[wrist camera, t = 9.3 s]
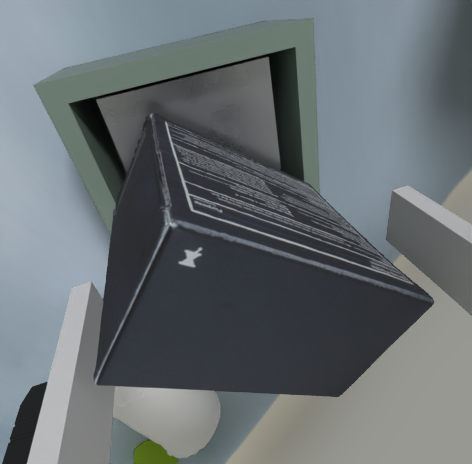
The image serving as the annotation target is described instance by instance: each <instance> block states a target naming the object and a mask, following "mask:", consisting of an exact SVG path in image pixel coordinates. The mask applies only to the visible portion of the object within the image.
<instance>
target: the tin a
mask: <svg viewBox="0 0 472 464" xmlns="http://www.w3.org/2000/svg"><path fill="white" fill-rule="evenodd" d="M96 101H97V103H98V106H99V108H100V110H101V113H102V115H103V117H104V120H105V122H106V125H107V127H108V129H109V132H110V134H111V136H112V139H113V141H114V144H115V146H116V148H117V151H118V153H119V155H120V158H121V160H122V163H123V165H124V167H125V170H126V172H127V171H128V170H129V167H130V164H131V163H132V158H133V157H134V154H135V149H136V148H137V146H138V140H139V139H140V138H141V136H142V129H143V124H144V122H145V121H146V116H148V115H149V114H152V113H157V114H158V115H160V116H162V117H164V118H167V119H169V120H171V121H173V122H176V123H178V124H180V125H183V126H185V127H187V128H189V129H192V130H194V131H196V132H198V133H201V134H203V135H205V136H207V137H209V138H211V139H214V140H215V141H219V142H220V143H223V144H225V145H228V146H229V147H231V148H233V149H235V150H238V151H240V152H241V153H244V154H246V155H248V156H250V157H252V158H255V159H257V160H259V161H261V162H263V163H266V164H269V165H270V166H272V167H274V168H276V169H278V170H280V169H281V164H280V155H279V146H278V137H277V128H276V119H275V110H274V101H273V92H272V83H271V74H270V65H269V57H267V56H263V55H261V56H257V57H253V58H249V59H245V60H241V61H237V62H233V63H229V64H225V65H221V66H217V67H213V68H209V69H205V70H201V71H197V72H192V73H188V74H184V75H180V76H176V77H172V78H168V79H164V80H160V81H156V82H152V83H148V84H144V85H140V86H136V87H132V88H128V89H124V90H120V91H116V92H112V93H108V94H104V95H100V96H98V98H97V99H96Z"/></svg>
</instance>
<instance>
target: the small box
mask: <svg viewBox="0 0 472 464" xmlns="http://www.w3.org/2000/svg"><path fill="white" fill-rule="evenodd" d="M433 304H434V300H433V298H432V297H431V296H430V295H429V294H428V293H426V292H425V291H424V290H423V289H422V288H421V287H419V286H418V285H417V284H416V283H414V282H413V281H412V280H410V278H408V277H407V276H406V275H405V274H403V273H402V272H401V271H400V270H399V269H397V268H396V267H395V266H394V265H393V264H392V263H391V262H390V261H389V260H388V259H386V258H385V257H384V255H382V254H381V253H380V252H378V251H377V249H376V248H375V247H373V246H372V245H371V244H370V243H369V242H368V241H367V239H365V238H364V237H363V236H362V235H361V234H360V233H359V232H358V231H357V230H356V229H355V228H354V227H353V226H351V225H350V224H349V223H348V222H347V221H346V220H345V219H344V218H343V217H342V216H341V215H340V214H339V213H338V212H337V211H336V210H335V209H334V208H333V207H332V206H331V205H330V204H329V203H327V202H326V200H325V199H323V197H322V196H321V195H320V194H319V193H318V192H317V191H316V190H315V189H314V188H313V187H312V186H311V185H310V184H309V183H306V182H304V181H302V180H300V179H298V178H296V177H294V176H291V175H289V174H287V173H285V172H283V171H281V170H278V169H276V168H274V167H272V166H270V165H269V164H266V163H263V162H261V161H259V160H257V159H255V158H252V157H250V156H248V155H246V154H244V153H241V152H240V151H238V150H235V149H233V148H231V147H229V146H228V145H225V144H223V143H220V142H219V141H215V140H214V139H211V138H209V137H207V136H205V135H203V134H201V133H198V132H196V131H194V130H192V129H189V128H187V127H185V126H183V125H180V124H178V123H176V122H173V121H171V120H169V119H167V118H164V117H162V116H160V115H158V114H157V113H152V114H149V115H148V116H146V121H145V122H144V124H143V129H142V136H141V138H140V139H139V140H138V146H137V148H136V149H135V154H134V157H133V158H132V163H131V164H130V167H129V170H128V171H127V173H126V178H125V180H124V184H123V185H122V186H121V187H120V191H119V193H118V197H117V201H116V206H115V208H114V211H113V221H112V230H111V241H110V248H109V257H108V266H107V274H106V284H105V291H104V298H103V309H102V316H101V325H100V334H99V344H98V352H97V361H96V368H95V372H94V376H93V377H94V383H95V385H99V386H123V387H143V388H167V389H188V390H209V391H230V392H252V393H271V394H291V395H312V396H313V395H314V396H331V397H339V396H340V395H341V394H343V393H344V392H345V391H346V390H347V389H348V388H349V387H350V386H351V385H352V384H353V383H354V382H355V381H356V380H357V379H358V378H359V377H360V376H361V375H362V374H363V373H364V372H365V371H366V370H367V369H368V368H369V367H370V366H371V365H372V363H374V362H375V361H376V359H378V358H379V356H381V355H382V354H383V353H384V352H385V350H387V348H389V347H390V345H392V344H393V343H394V342H395V341H396V340H397V339H398V338H399V337H400V336H401V335H402V334H403V333H404V332H405V331H406V330H407V329H408V328H409V327H410V326H412V325H413V324H414V323H415V322H416V321H417V320H418V319H419V318H420V317H421V316H422V315H423V314H424V313H425V312H426V311H427V310H428V309H429V308H430V307H431V306H432V305H433Z"/></svg>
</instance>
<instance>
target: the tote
mask: <svg viewBox="0 0 472 464" xmlns="http://www.w3.org/2000/svg"><path fill="white" fill-rule="evenodd" d="M261 55H263V56H267V57H269V65H270V74H271V83H272V92H273V101H274V110H275V119H276V128H277V137H278V146H279V155H280V164H281V169H280V170H281V171H283V172H285V173H287V174H289V175H291V176H294V177H296V178H298V179H300V180H302V181H304V182H306V183H309V184H310V185H311V186H312V187H313V188H314V189H315V190H316V191H317V192H318V193H319V194H320V188H319V159H318V131H317V102H316V74H315V45H314V18H304V19H288V20H272V21H262V22H258V23H254V24H250V25H246V26H241V27H237V28H233V29H229V30H224V31H220V32H216V33H212V34H208V35H203V36H199V37H195V38H191V39H186V40H182V41H178V42H174V43H170V44H165V45H161V46H157V47H153V48H148V49H144V50H140V51H136V52H132V53H127V54H123V55H119V56H115V57H110V58H106V59H102V60H98V61H93V62H89V63H85V64H81V65H77V66H72V67H68V68H64V69H62V70H60V71H58V72H57V73H55V74H53V75H51V76H49V77H47V78H46V79H44V80H42V81H40V82H38V83H36V84H34V85H33V86H34V88H35V89H36V91H37V93H38V95H39V97H40V99H41V101H42V103H43V105H44V107H45V109H46V111H47V113H48V115H49V117H50V118H51V120H52V122H53V124H54V126H55V128H56V130H57V132H58V134H59V136H60V138H61V140H62V142H63V144H64V146H65V147H66V149H67V151H68V153H69V155H70V157H71V159H72V161H73V163H74V165H75V167H76V169H77V171H78V173H79V175H80V176H81V178H82V180H83V182H84V184H85V186H86V188H87V190H88V192H89V194H90V196H91V198H92V200H93V202H94V203H95V205H96V207H97V209H98V211H99V213H100V215H101V217H102V219H103V221H104V223H105V225H106V227H107V229H108V231H109V232H110V234H111V230H112V221H113V211H114V208H115V206H116V201H117V197H118V193H119V191H120V187H121V186H122V185H123V184H124V180H125V178H126V173H127V172H126V170H125V167H124V165H123V163H122V160H121V158H120V155H119V153H118V151H117V148H116V146H115V144H114V141H113V139H112V136H111V134H110V132H109V129H108V127H107V125H106V122H105V120H104V117H103V115H102V113H101V110H100V108H99V106H98V103H97V101H96V99H97V98H98V96H100V95H104V94H108V93H112V92H116V91H120V90H124V89H128V88H132V87H136V86H140V85H144V84H148V83H152V82H156V81H160V80H164V79H168V78H172V77H176V76H180V75H184V74H188V73H192V72H197V71H201V70H205V69H209V68H213V67H217V66H221V65H225V64H229V63H233V62H237V61H241V60H245V59H249V58H253V57H257V56H261Z"/></svg>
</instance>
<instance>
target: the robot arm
mask: <svg viewBox="0 0 472 464" xmlns="http://www.w3.org/2000/svg"><path fill="white" fill-rule="evenodd" d="M386 240H387V241H388V242H389V243H390V244H392V245H393V246H394V247H395V248H396V249H397V250H398V251H399V252H401V253H402V254H403V255H404V256H405V257H406V258H407V259H408V260H410V261H411V262H412V263H413V264H414V265H415V266H416V267H418V268H419V269H420V270H421V271H422V272H423V273H424V274H426V275H427V276H428V277H429V278H430V279H431V280H432V281H433V282H434V283H436V284H437V285H438V286H439V287H440V288H441V289H442V290H443V291H445V292H446V293H447V294H448V295H449V296H450V297H451V298H452V299H454V300H455V301H456V302H457V303H458V304H459V305H460V306H462V307H463V308H464V309H465V310H466V311H467V312H468V313H470V314H471V315H472V224H470V223H469V222H467V221H465V220H464V219H462V218H460V217H459V216H457V215H455V214H454V213H452V212H450V211H449V210H447V209H446V208H444V207H442V206H441V205H439V204H438V203H436V202H434V201H433V200H431V199H429V198H428V197H426V196H424V195H423V194H421V193H420V192H418V191H416V190H415V189H413V188H411V187H410V186H405V187H401V188H398V189H395V190H392V196H391V203H390V211H389V219H388V227H387V235H386ZM102 309H103V299H102V297H101V296H100V294H99V293H98V291H97V289H96V288H95V286H94V285H93V283H92V282H89V283H85V284H82V285H79V286H76V287H72V290H71V294H70V297H69V301H68V305H67V309H66V313H65V317H64V321H63V325H62V329H61V333H60V336H59V340H58V344H57V348H56V352H55V356H54V360H53V364H52V368H51V372H50V375H49V379H48V382H45V383H42V384H39V385H36V386H33V387H32V388H31V389H30V391H29V393H28V394H27V396H26V397H25V399H24V400H23V402H22V404H21V405H20V408H19V412H18V415H17V418H16V421H15V427H14V428H13V431H12V434H11V437H10V443H9V444H8V447H7V450H6V453H5V456H4V460H3V463H2V464H110V450H111V435H112V421H113V407H114V392H115V386H99V385H95V383H94V377H93V376H94V372H95V368H96V361H97V352H98V344H99V334H100V325H101V316H102Z"/></svg>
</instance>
